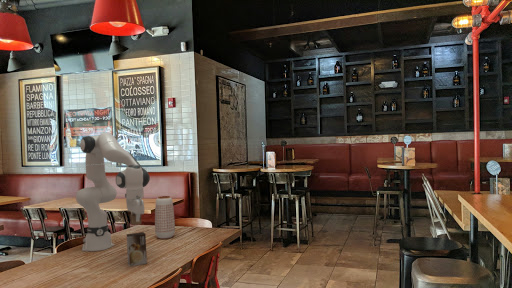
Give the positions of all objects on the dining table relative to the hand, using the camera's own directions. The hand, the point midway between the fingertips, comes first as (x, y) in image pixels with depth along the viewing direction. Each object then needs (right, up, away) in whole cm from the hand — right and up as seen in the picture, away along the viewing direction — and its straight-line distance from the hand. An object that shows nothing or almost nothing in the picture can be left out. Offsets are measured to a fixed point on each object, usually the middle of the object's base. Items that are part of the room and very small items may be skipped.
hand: (135, 220), depth 199 cm
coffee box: (+1, -23, 0) cm, 23 cm away
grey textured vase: (+2, -24, +57) cm, 61 cm away
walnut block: (0, -2, 0) cm, 2 cm away
